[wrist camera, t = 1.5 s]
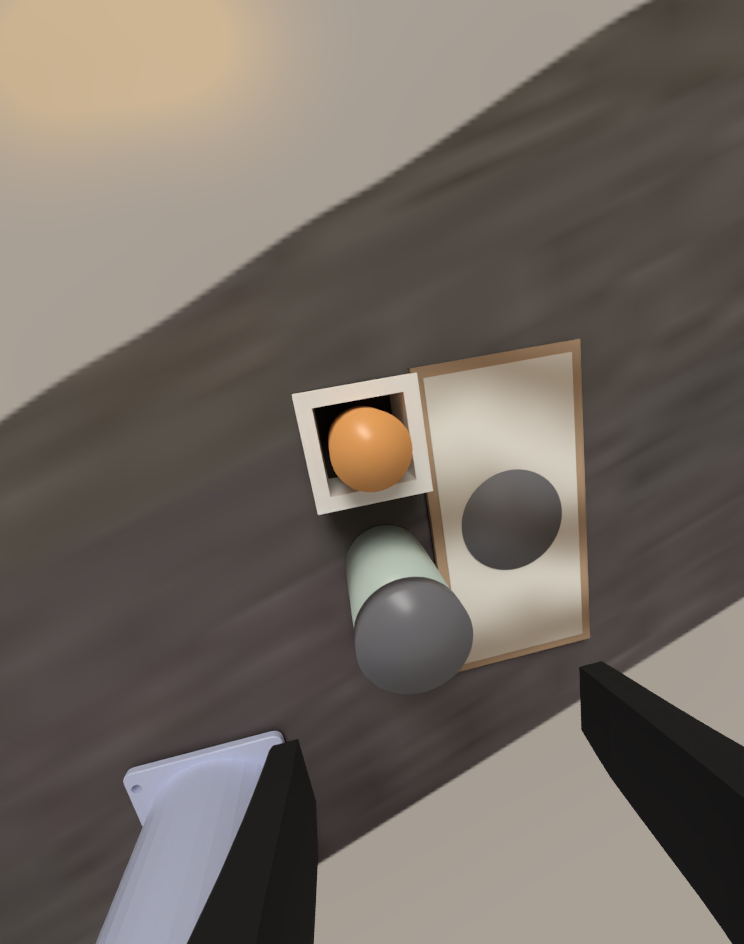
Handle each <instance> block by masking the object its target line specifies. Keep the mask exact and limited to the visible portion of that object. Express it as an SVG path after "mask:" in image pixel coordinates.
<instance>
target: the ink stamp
mask: <svg viewBox="0 0 744 944" xmlns="http://www.w3.org/2000/svg"><path fill="white" fill-rule="evenodd" d="M345 570H346V577H347V584H348V591H349V598H350V605H351V612H352V619H353V626H354V643H355V650H356V657H357V661H358V665H359V667H360V669H361V671H362V672H363V674H364V675H365V677H366V678H367V679H368V680H369V681H370V682H371V683H373V684H374V685H375V686H377V687H379V688H380V689H382V690H385V691H387V692H391V693H394V694H401V695H411V694H419V693H424V692H427V691H430V690H433V689H435V688H437V687H439V686H441V685H443V684H444V683H446V682H447V681H448V680H450V679H451V678H452V677H453V676H454V675H455V674H457V672H458V671H459V670H460V669H461V668H462V666H463V665H464V663H465V662H466V660H467V658H468V656H469V654H470V651H471V648H472V643H473V627H472V622H471V619H470V617H469V615H468V613H467V611H466V609H465V608H464V606H463V605H462V603H461V602H460V600H459V599H458V597H457V596H456V595H455V593H454V592H453V591H452V590H451V589H450V588H449V586H448V585H447V583H446V582H445V580H444V578H443V577H442V575H441V574H440V572H439V571H438V569H437V568H436V566H435V565H434V563H433V562H432V560H431V559H430V557H429V556H428V554H427V552H426V551H425V549H424V548H423V546H422V545H421V543H420V542H419V540H418V539H417V538H416V537H415V536H414V535H413V534H412V533H411V532H410V531H408V530H406V529H404V528H402V527H399V526H395V525H381V526H377V527H373V528H371V529H368V530H367V531H365V532H363V533H362V534H361V535H359V536H358V537H357V538H356V539H355V540H354V542H353V543H352V544H351V546H350V548H349V550H348V552H347V555H346V560H345Z"/></svg>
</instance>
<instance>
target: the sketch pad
mask: <svg viewBox="0 0 744 944" xmlns="http://www.w3.org/2000/svg"><path fill="white" fill-rule="evenodd" d="M416 372H417V376H418V384H419V391H420V398H421V406H422V413H423V420H424V428H425V435H426V442H427V450H428V457H429V464H430V471H431V479H432V486H433V491H431V492H426V493H425V494H426V501H427V508H428V515H429V522H430V529H431V536H432V543H433V550H434V557H435V564H436V568H437V569H438V571H439V572H440V574H441V575H442V577H443V578H444V580H445V582H446V583H447V585H448V586H449V588H450V589H451V590H452V591H453V592H454V593H455V595H456V596H457V597H458V599H459V600H460V602H461V603H462V605H463V606H464V608H465V609H466V611H467V613H468V615H469V617H470V619H471V622H472V627H473V643H472V648H471V651H470V654H469V656H468V658H467V660H466V662H465V663H464V665H463V666H462V668H461V669H460V670H459V671H458V672H460V671H464V670H468V669H472V668H476V667H480V666H484V665H487V664H491V663H495V662H499V661H503V660H507V659H511V658H514V657H518V656H522V655H526V654H530V653H534V652H538V651H541V650H545V649H549V648H553V647H557V646H561V645H565V644H568V643H572V642H576V641H580V640H584V639H588V638H590V625H589V594H588V564H587V533H586V502H585V472H584V441H583V410H582V380H581V349H580V339H576V340H570V341H565V342H559V343H553V344H548V345H542V346H536V347H530V348H525V349H519V350H513V351H508V352H502V353H496V354H490V355H485V356H479V357H473V358H468V359H462V360H456V361H451V362H445V363H439V364H433V365H428V366H422V367H416V368H411V369H408V374H410V373H416Z"/></svg>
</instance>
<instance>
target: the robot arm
mask: <svg viewBox="0 0 744 944" xmlns="http://www.w3.org/2000/svg"><path fill="white" fill-rule="evenodd" d="M579 669H580V699H581V727H582V728H581V729H582V731H583V733H584V735H585V736H586V738H587V740H588V741H589V743H590V745H591V746H592V748H593V750H594V751H595V753H596V755H597V756H598V758H599V760H600V761H601V763H602V764H603V766H604V768H605V769H606V771H607V772H608V774H609V775H610V777H611V778H612V780H613V781H614V783H615V784H616V785H617V787H618V788H619V789H620V791H621V792H622V794H623V795H624V796H625V798H626V799H627V800H628V802H629V803H630V804H631V806H632V807H633V808H634V810H635V811H636V812H637V814H638V815H639V817H640V818H641V819H642V821H643V822H644V823H645V825H646V826H647V827H648V829H649V830H650V831H651V833H652V834H653V835H654V836H655V838H656V839H657V841H658V842H659V843H660V845H661V846H662V847H663V848H664V850H665V851H666V853H667V854H668V855H669V857H670V858H671V859H672V861H673V862H674V863H675V865H676V866H677V867H678V869H679V870H680V871H681V873H682V874H683V875H684V877H685V878H686V879H687V881H688V882H689V883H690V885H691V886H692V887H693V889H694V890H695V891H696V893H697V894H698V895H699V897H700V898H701V900H702V901H703V902H704V904H705V905H706V906H707V908H708V909H709V911H710V912H711V914H712V915H713V916H714V918H715V919H716V921H717V922H718V923H719V925H720V926H721V928H722V929H723V931H724V932H725V933H726V935H727V937H728V938H729V940H730V941H731V942H732V944H744V747H743V746H742V745H740V744H738V743H736V742H735V741H733V740H731V739H729V738H728V737H726V736H724V735H722V734H721V733H719V732H717V731H715V730H714V729H712V728H710V727H709V726H707V725H705V724H704V723H702V722H700V721H699V720H697V719H695V718H694V717H692V716H690V715H689V714H687V713H685V712H684V711H682V710H680V709H678V708H677V707H675V706H674V705H672V704H670V703H669V702H667V701H665V700H664V699H662V698H661V697H659V696H657V695H656V694H654V693H653V692H651V691H649V690H648V689H646V688H644V687H643V686H641V685H640V684H638V683H636V682H635V681H633V680H631V679H630V678H628V677H627V676H625V675H624V674H622V673H620V672H619V671H617V670H615V669H614V668H612V667H610V666H609V665H607V664H605V663H604V662H602V661H601V662H597V663H593V664H589V665H585V666H581V667H579ZM123 782H124V785H125V788H126V790H127V792H128V795H129V797H130V799H131V801H132V804H133V806H134V808H135V811H136V813H137V815H138V817H139V820H140V822H141V824H142V827H143V828H142V830H141V833H140V835H139V838H138V840H137V843H136V845H135V847H134V850H133V852H132V855H131V857H130V860H129V862H128V865H127V867H126V870H125V872H124V875H123V877H122V880H121V882H120V885H119V887H118V890H117V892H116V895H115V897H114V900H113V902H112V905H111V907H110V910H109V912H108V914H107V917H106V919H105V922H104V924H103V927H102V929H101V932H100V934H99V937H98V939H97V942H96V944H313V943H314V925H315V906H316V886H317V866H318V851H317V816H316V800H315V797H314V793H313V790H312V786H311V783H310V779H309V776H308V772H307V769H306V765H305V762H304V758H303V755H302V751H301V748H300V744H299V741H298V739H297V740H293V741H289V742H285V741H284V738H283V735H282V733H280V732H278V731H270V732H267V733H263V734H259V735H255V736H251V737H247V738H244V739H240V740H236V741H232V742H228V743H225V744H221V745H217V746H213V747H209V748H205V749H202V750H198V751H194V752H190V753H186V754H183V755H179V756H175V757H171V758H167V759H164V760H160V761H156V762H152V763H148V764H144V765H141V766H137V767H133V768H131V769H129V770H128V771H127V773H126V775H125V777H124V780H123Z"/></svg>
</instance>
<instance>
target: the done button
mask: <svg viewBox="0 0 744 944" xmlns="http://www.w3.org/2000/svg"><path fill="white" fill-rule="evenodd" d="M328 447H329V453H330V459H331V463H332V466H333V469H334V471H335V473H336V474H337V476H338V477H339V478H340V479H341V480H342V481H343V482H344V483H345V484H346V485H348V486H349V487H351V488H353V489H356V490H358V491H362V492H378V491H382V490H385V489H388V488H390V487H391V486H393V485H394V484H396V483H397V482H398V481H399V480H400V479H401V478H402V477H403V476H404V475H405V473H406V472H407V470H408V468H409V466H410V463H411V459H412V450H413V449H412V441H411V438H410V435H409V433H408V431H407V429H406V427H405V426H404V425H403V424H402V422H401V421H400V420H398V419H397V418H396V417H394V416H393V415H391V414H389V413H387V412H384V411H381V410H378V409H375V408H372V407H369V406H355V407H351V408H349V409H346V410H345V411H343V412H342V413H340V414H339V415H338V416H337V417H336V418H335V420H334V421H333V423H332V424H331V427H330V429H329V433H328Z"/></svg>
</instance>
